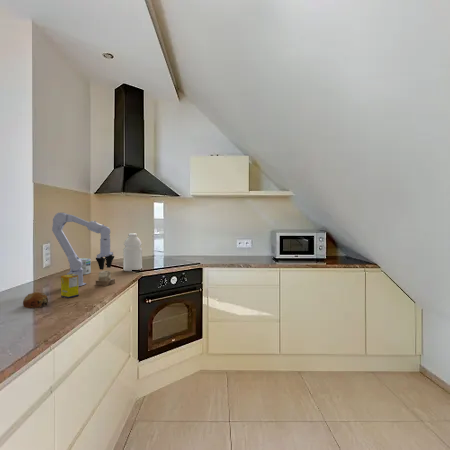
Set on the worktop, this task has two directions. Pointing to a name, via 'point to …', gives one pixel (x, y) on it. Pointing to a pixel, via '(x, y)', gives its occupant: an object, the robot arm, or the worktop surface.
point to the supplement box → (69, 286)
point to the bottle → (132, 253)
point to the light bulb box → (86, 265)
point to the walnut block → (105, 282)
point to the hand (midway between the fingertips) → (105, 268)
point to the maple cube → (104, 275)
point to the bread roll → (35, 300)
